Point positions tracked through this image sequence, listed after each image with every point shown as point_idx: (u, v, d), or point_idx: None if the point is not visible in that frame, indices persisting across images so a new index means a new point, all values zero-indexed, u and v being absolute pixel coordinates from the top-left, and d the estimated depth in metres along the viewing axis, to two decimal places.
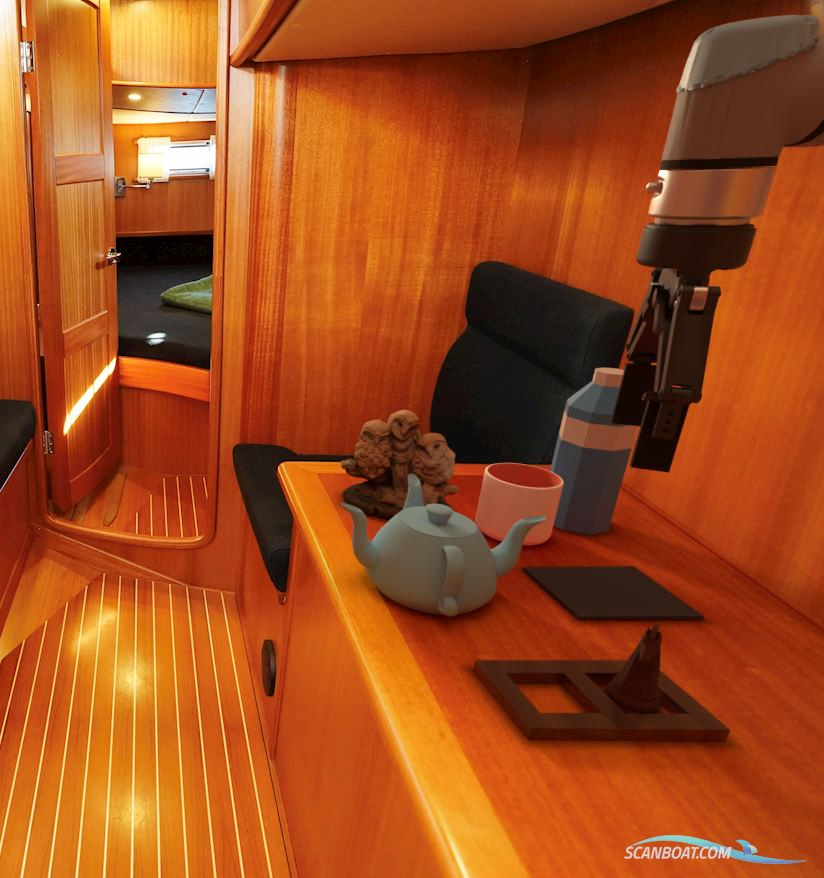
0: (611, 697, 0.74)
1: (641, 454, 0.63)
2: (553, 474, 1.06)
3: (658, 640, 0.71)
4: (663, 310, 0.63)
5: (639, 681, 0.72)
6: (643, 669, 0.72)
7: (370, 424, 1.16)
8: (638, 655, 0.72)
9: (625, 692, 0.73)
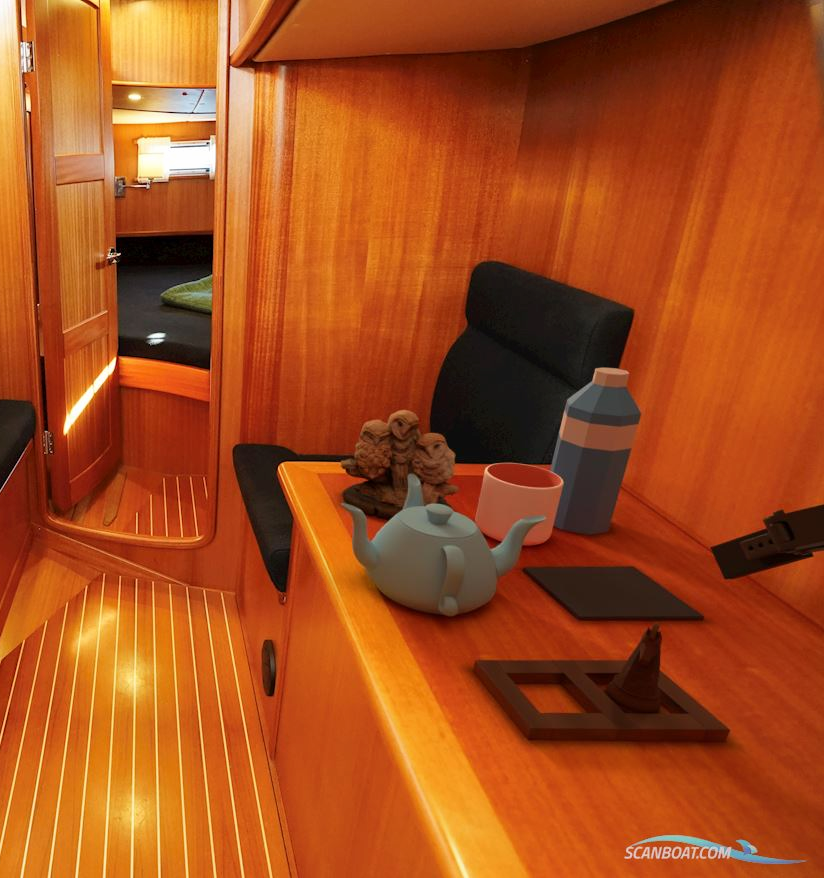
0: (611, 697, 0.74)
1: None
2: (553, 474, 1.06)
3: (658, 640, 0.71)
4: None
5: (639, 681, 0.72)
6: (644, 669, 0.72)
7: (370, 424, 1.16)
8: (638, 655, 0.72)
9: (625, 692, 0.73)
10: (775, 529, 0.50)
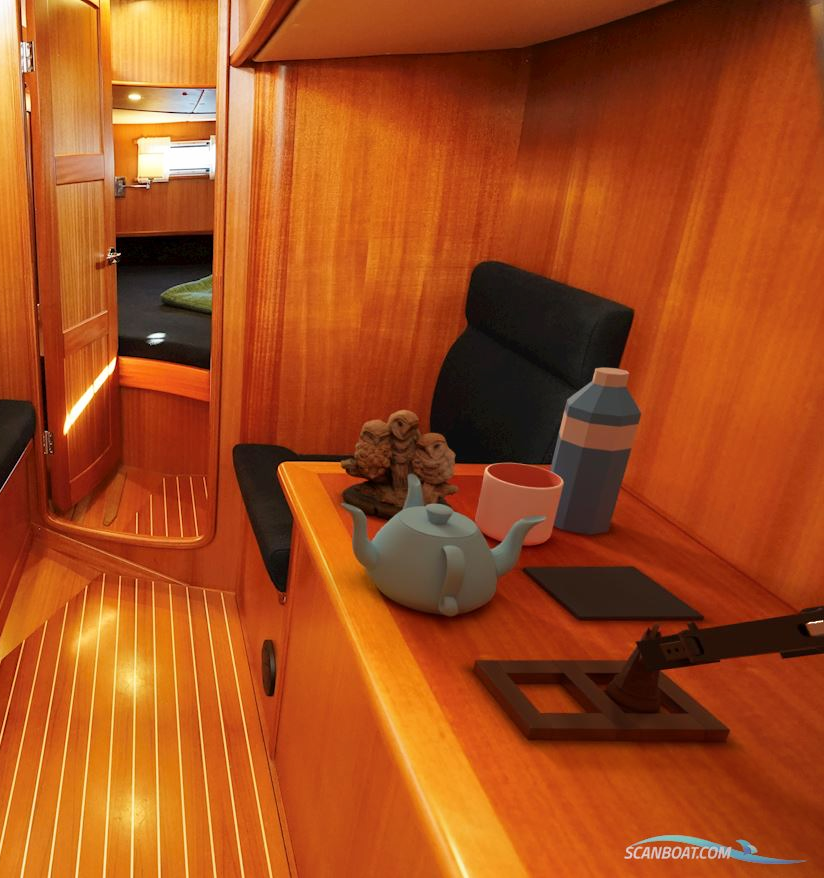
0: (611, 697, 0.74)
1: None
2: (553, 474, 1.06)
3: None
4: None
5: (639, 681, 0.72)
6: (644, 669, 0.72)
7: (370, 424, 1.16)
8: (638, 655, 0.72)
9: (625, 692, 0.73)
10: (688, 643, 0.57)
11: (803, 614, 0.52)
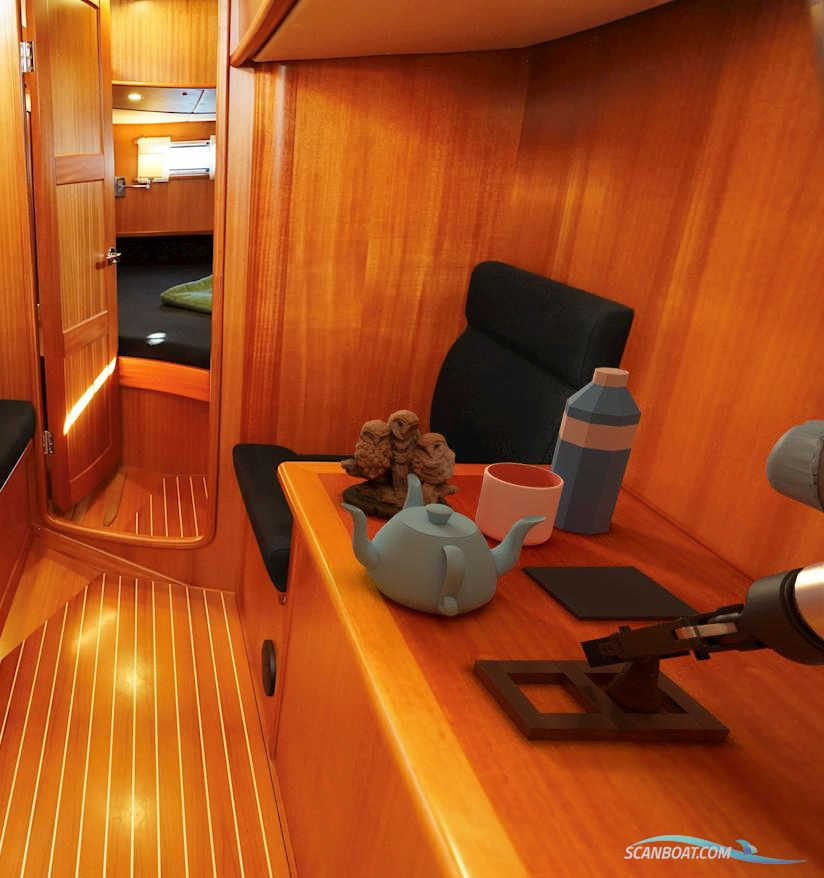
0: (611, 697, 0.74)
1: None
2: (553, 474, 1.06)
3: None
4: None
5: (639, 681, 0.72)
6: (643, 669, 0.72)
7: (370, 424, 1.16)
8: None
9: (625, 692, 0.73)
10: (614, 643, 0.69)
11: (671, 622, 0.63)
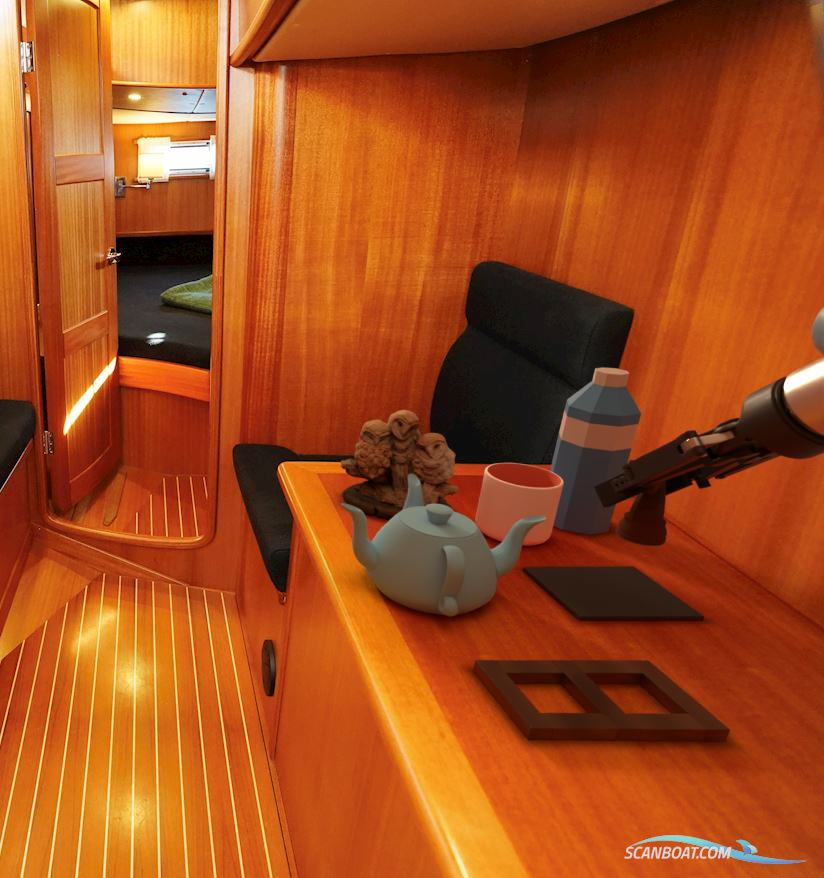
0: (622, 530, 0.83)
1: None
2: (553, 474, 1.06)
3: None
4: None
5: (647, 511, 0.81)
6: (651, 500, 0.81)
7: (370, 424, 1.16)
8: None
9: (635, 523, 0.82)
10: (626, 473, 0.78)
11: (677, 438, 0.72)
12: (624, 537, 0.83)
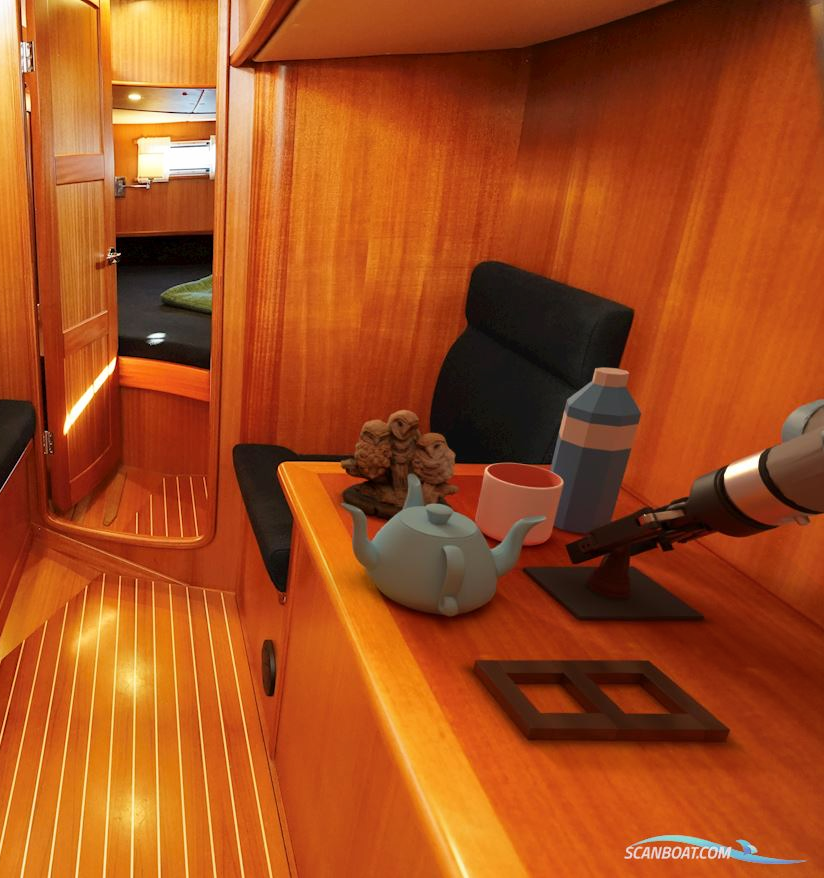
0: (592, 584, 0.93)
1: None
2: (553, 474, 1.06)
3: None
4: None
5: (614, 569, 0.91)
6: (617, 559, 0.91)
7: (370, 424, 1.16)
8: None
9: (603, 578, 0.92)
10: (590, 537, 0.88)
11: (635, 512, 0.82)
12: (593, 590, 0.93)
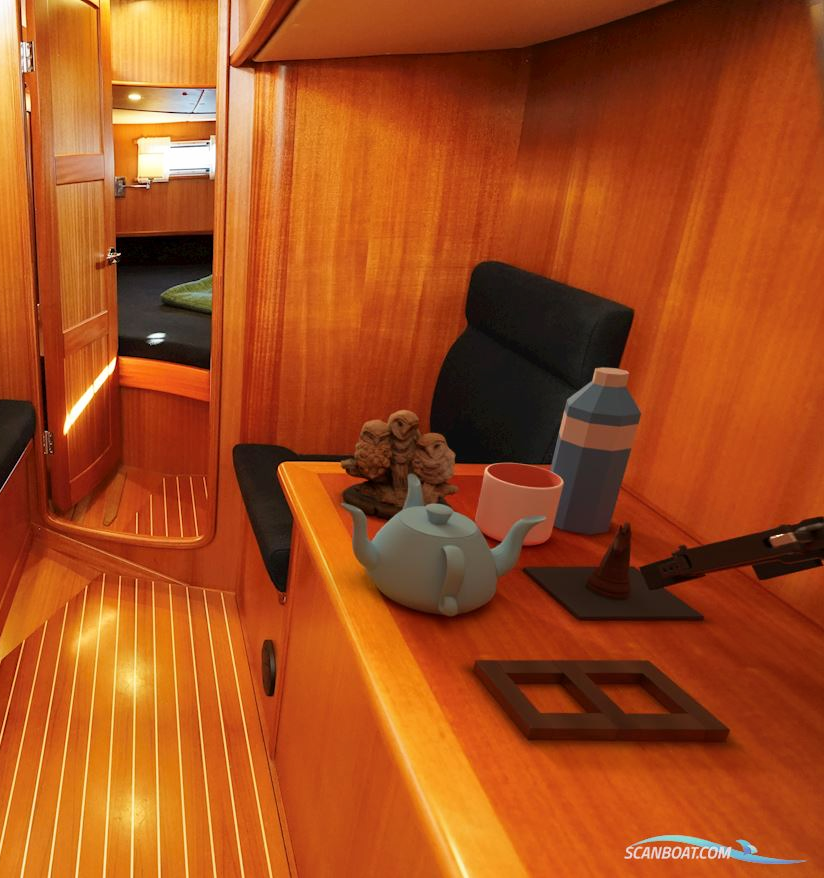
0: (592, 584, 0.93)
1: None
2: (553, 474, 1.06)
3: (628, 534, 0.89)
4: None
5: (614, 569, 0.91)
6: (617, 559, 0.91)
7: (370, 424, 1.16)
8: (613, 549, 0.91)
9: (603, 578, 0.92)
10: (679, 560, 0.73)
11: (767, 531, 0.67)
12: (593, 590, 0.93)
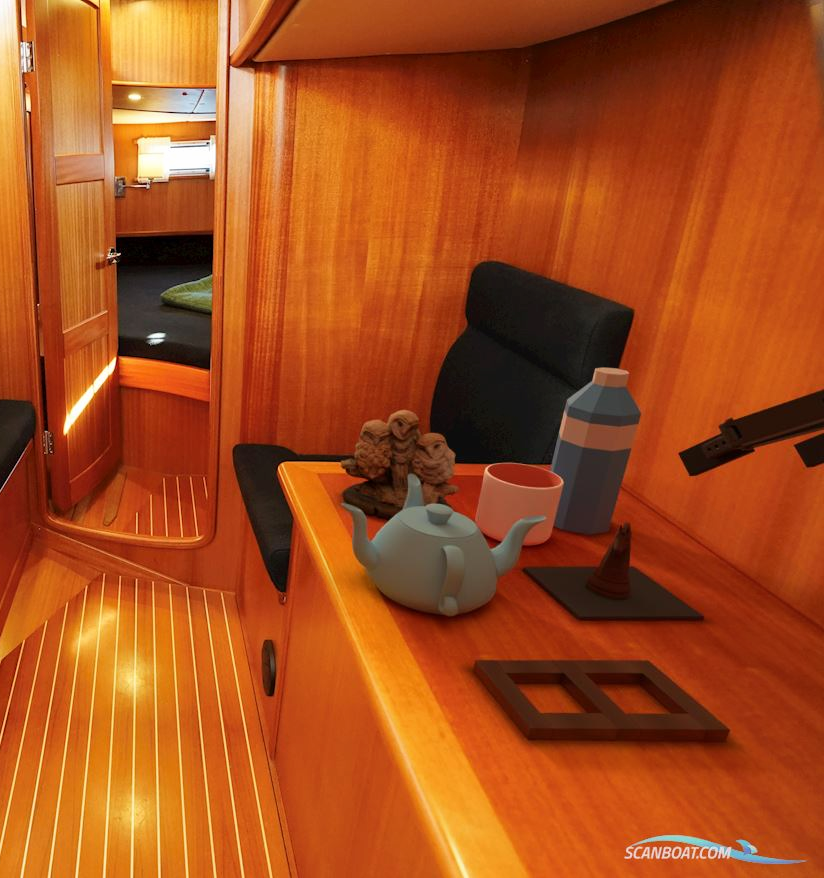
0: (592, 584, 0.93)
1: None
2: (553, 474, 1.06)
3: (628, 534, 0.89)
4: None
5: (614, 569, 0.91)
6: (617, 559, 0.91)
7: (370, 424, 1.16)
8: (613, 549, 0.91)
9: (603, 578, 0.92)
10: (727, 431, 0.67)
11: None
12: (593, 590, 0.93)
